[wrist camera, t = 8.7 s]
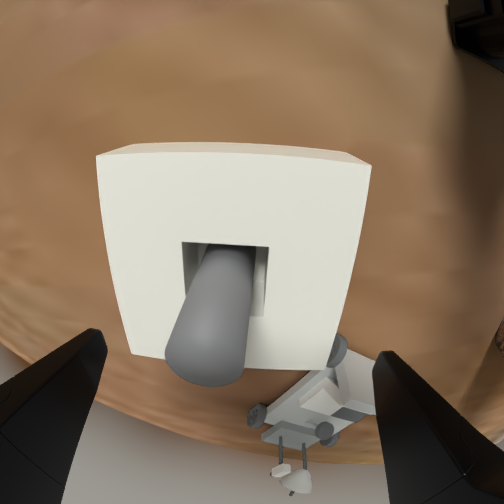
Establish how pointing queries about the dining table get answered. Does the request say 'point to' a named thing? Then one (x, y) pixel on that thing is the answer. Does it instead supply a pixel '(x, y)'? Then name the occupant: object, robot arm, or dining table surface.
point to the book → (500, 338)
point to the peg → (214, 318)
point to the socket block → (234, 238)
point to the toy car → (317, 410)
